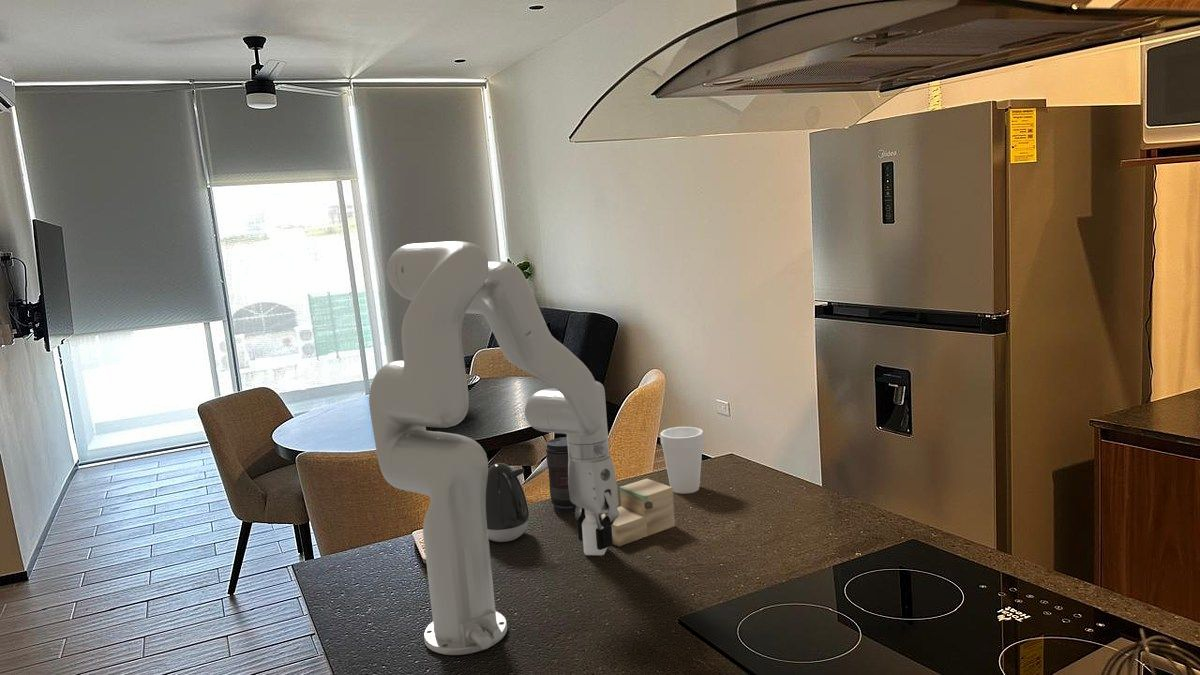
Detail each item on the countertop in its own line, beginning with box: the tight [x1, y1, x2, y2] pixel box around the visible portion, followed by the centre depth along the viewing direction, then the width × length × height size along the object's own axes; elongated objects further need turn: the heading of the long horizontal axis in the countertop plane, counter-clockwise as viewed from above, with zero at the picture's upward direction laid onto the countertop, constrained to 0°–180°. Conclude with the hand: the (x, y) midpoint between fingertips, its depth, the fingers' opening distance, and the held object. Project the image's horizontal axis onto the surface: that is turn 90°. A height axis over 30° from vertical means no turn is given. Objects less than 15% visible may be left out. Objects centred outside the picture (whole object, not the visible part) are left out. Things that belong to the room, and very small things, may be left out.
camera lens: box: [545, 436, 575, 515], centre depth 178 cm, size 8×8×15 cm
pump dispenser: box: [486, 462, 531, 543], centre depth 165 cm, size 10×10×15 cm
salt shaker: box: [582, 509, 609, 556], centre depth 155 cm, size 4×4×10 cm
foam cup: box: [659, 426, 705, 495], centre depth 185 cm, size 10×9×13 cm
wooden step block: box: [602, 478, 676, 547], centre depth 163 cm, size 9×14×8 cm, turn 126°
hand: (595, 542), depth 155 cm, fingers closed on salt shaker, 5 cm apart
